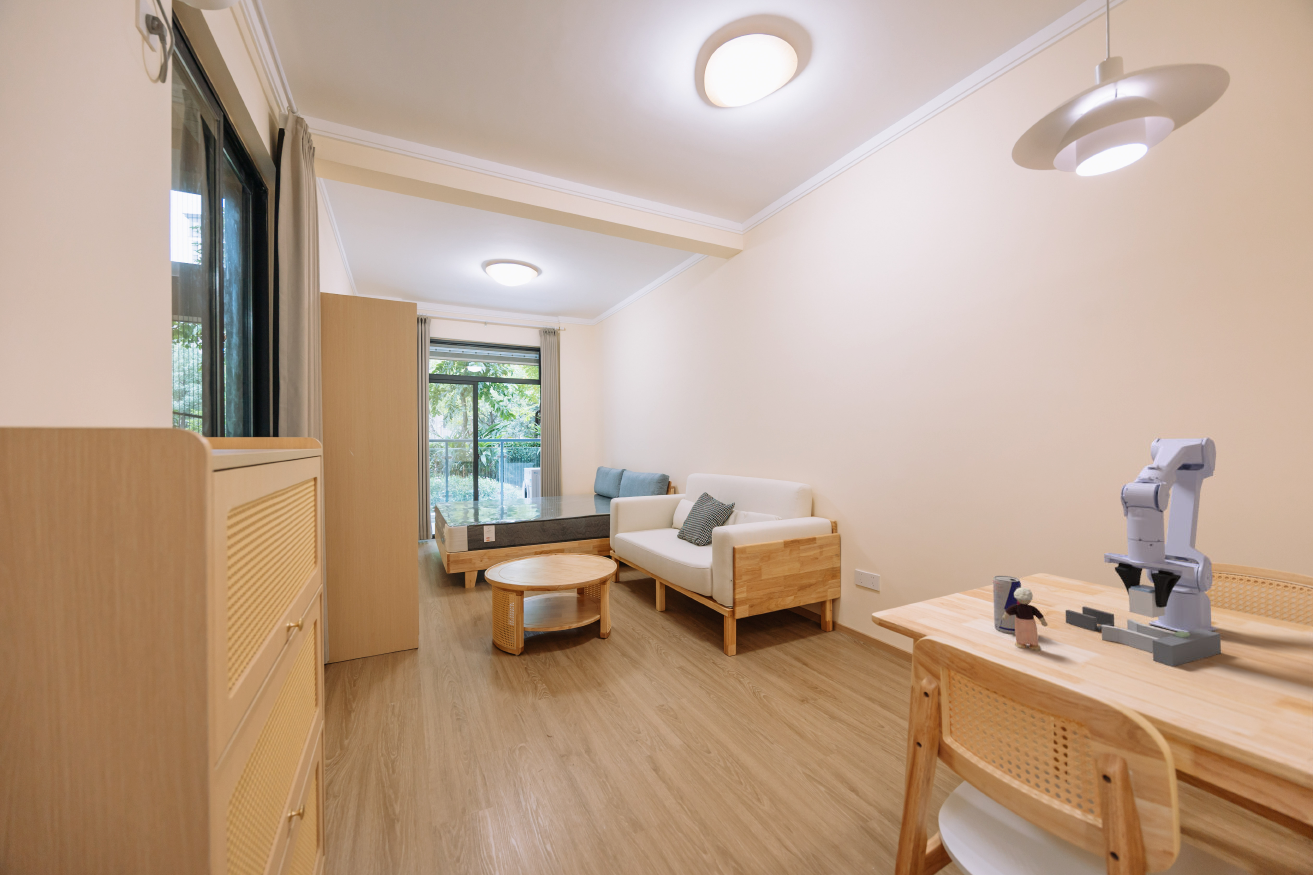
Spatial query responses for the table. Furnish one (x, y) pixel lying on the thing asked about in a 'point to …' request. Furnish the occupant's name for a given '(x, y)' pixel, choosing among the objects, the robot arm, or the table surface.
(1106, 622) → the gray vise
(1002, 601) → the energy drink
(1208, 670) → the table surface
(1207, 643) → the grey forked block
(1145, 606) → the plug
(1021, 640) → the grandmother figurine
